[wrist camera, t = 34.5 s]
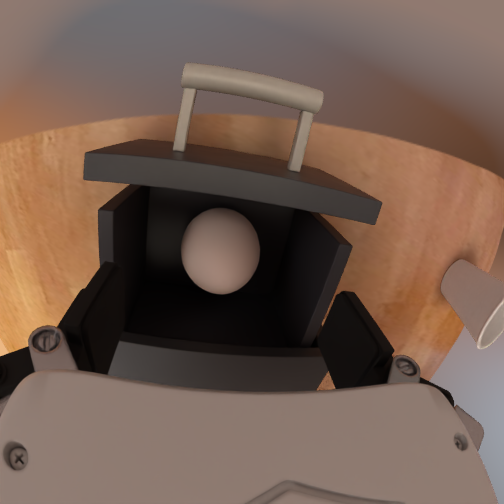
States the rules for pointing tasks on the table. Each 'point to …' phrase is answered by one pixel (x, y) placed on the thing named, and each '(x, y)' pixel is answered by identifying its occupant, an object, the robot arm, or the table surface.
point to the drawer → (235, 198)
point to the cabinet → (218, 364)
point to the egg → (220, 250)
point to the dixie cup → (475, 300)
